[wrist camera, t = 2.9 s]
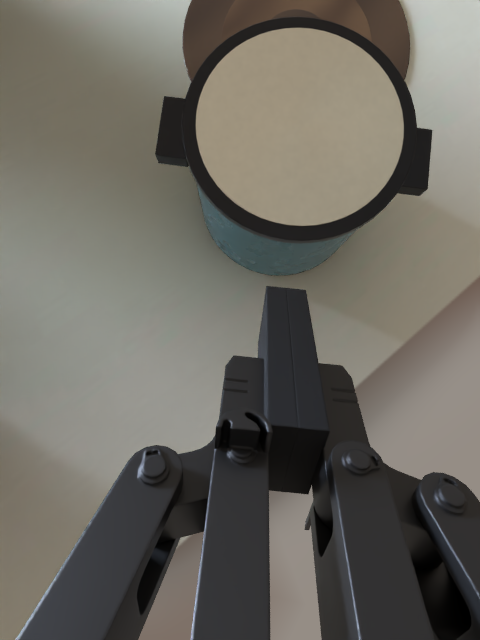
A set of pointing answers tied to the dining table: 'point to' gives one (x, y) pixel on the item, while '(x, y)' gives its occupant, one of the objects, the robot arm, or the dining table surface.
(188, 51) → the plate
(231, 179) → the pot
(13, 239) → the dining table surface
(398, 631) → the robot arm
